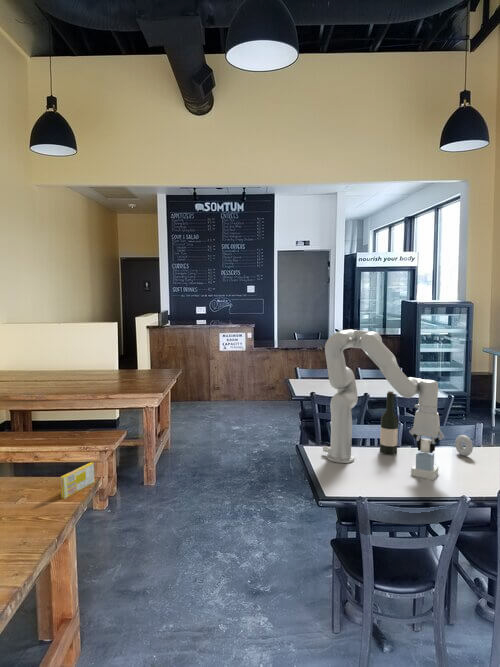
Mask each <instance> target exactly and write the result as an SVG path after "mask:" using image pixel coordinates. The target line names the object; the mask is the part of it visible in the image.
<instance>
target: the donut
mask: <svg viewBox="0 0 500 667" xmlns="http://www.w3.org/2000/svg"><path fill="white" fill-rule="evenodd" d="M454 442H455V443H454V446H455V449H456V451H457V452H458V454H459V455H461V456H463V457H468V456H469V455H471V454H472V453H473V450H474V449H473V448H474V445H473V441H472V440H471V439H470V437H469V436H467V435H465V434H460V435H458V436H457V437H456V438H455V441H454ZM463 444H464V446H463Z"/></svg>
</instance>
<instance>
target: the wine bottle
mask: <svg viewBox="0 0 500 667" xmlns="http://www.w3.org/2000/svg"><path fill="white" fill-rule="evenodd" d="M394 400H395V393H394V391H391V390H388V391H387V392H386V408H385V409H386V410H385V411H384V412H383V414H382V415H381V416H380V431H379V432H380V435H379V437H380V438H379V453H381V454H384V455H386V456H387V455H388V456H389V455H390V456H394V455H397V454H398V435H399V418H398V417H397V415H396V413H395V411H394V407H395V406H394V405H395V404H394V403H395V402H394Z"/></svg>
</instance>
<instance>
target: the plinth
mask: <svg viewBox="0 0 500 667" xmlns="http://www.w3.org/2000/svg"><path fill="white" fill-rule="evenodd" d="M410 470H411V471H410V475H411V476H413V477H418V478H422V479H425V480H431V481H434V480H435V478H436V477H437V476H438V474H439V466H437V465H434V467H433V468H432V469H431V471H428V470H423V469H419V468H416V463H415V464H414V465H413V466H412V467H411V469H410Z"/></svg>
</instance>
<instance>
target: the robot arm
mask: <svg viewBox="0 0 500 667" xmlns="http://www.w3.org/2000/svg"><path fill="white" fill-rule="evenodd" d="M350 348H353V349H361V350H362V351H363V352H364V353H365V354H366V356H367V357H369V359H370V360H371V361H372V362H373V363H374V364H375V366H377V367H378V368H379V370H380V372H381V374H382V375H383V376H384V378H385V379H386V381H387V382H388V383H389V385H390V386H391V387H392V388H393V389H394V390H395V391H396V392H397V394H399V396H401V397H403V398H406V399H411V398H413V397H414V396H415V395H418V404H414V408H416V409H417V410H416V411H415V413H414V419H413V427H411V429H410V430H408V431H409V432H408V433H409V434H410V435H412V436H413V438H414V439H415V441H416V448H417V452H419V451H420V444H421V439H422V436H423V437H428V438H430V440H431V441H432V442H431V444H430V453H434V452H435V451H436V443H438V442H439V441H440V440H443V439H445V436H444V434H443V432H442V431H441V425H440V424H441V423H440V415H439V412H438V397H439V396H438V395H439V394H438V393H439V382H438V381H436V380H433V379H422V378H417V377H412V376H409V377H408V376H407V375H406V374H405V373H404V372H403V371H402V369H401V368H400V366H399V364H398V362H397V358H396V356H395V355H394V353H393V352H391V350H390V349H389V348H388V347H387V346H386V345H385V343H384V342H383V339H382V336H381V335H380V333H378V332H377V331H373V330H372V331H369V330H357V329H343V330H339V331H336V332H335V333H333V334H332V335H330V337H328V339H327V340H326V342H325V344H324V352H325V359H326V360H325V361H326V368H327V373H328V375H327V376H328V381H329V384H330V386H331V387H332V388H333V389H335V390H336V391H337V392H336V393H335V394H334V395H333V396H332V397H331V399H330V406H329V407H330V415H331V416H330V420H331V421H330V446H329V447H328V446H325V445H323V447H322V451H323V452H325V453H327V454H326V458H327V460H329V461H331V462H334V463H337V464H348V463H353V462H354V461H355V456H354V455H353V454H352V435H353V434H352V433H353V430H352V429H353V418H352V409H353V408H355V406H356V405H357V404H358V400H359V399H358V390H357V389H358V388H357V382H356V378H355V374H354V372H353V370H352V369H351V368H349V367H348V366H347V365H346V359H345V358H346V357H345V355H344V350H347V349H350Z"/></svg>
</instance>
